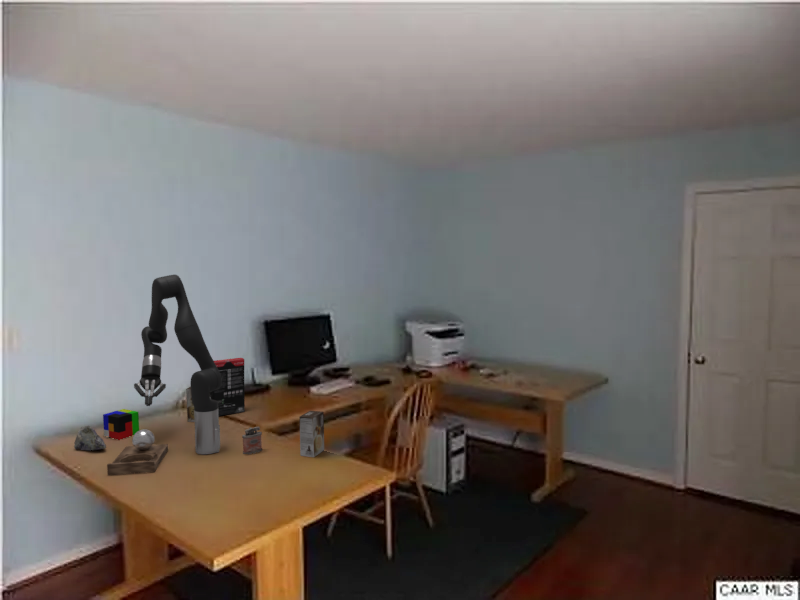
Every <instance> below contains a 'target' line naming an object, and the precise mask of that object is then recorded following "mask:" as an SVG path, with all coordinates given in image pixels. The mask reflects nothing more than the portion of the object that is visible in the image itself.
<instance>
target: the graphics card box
mask: <svg viewBox="0 0 800 600" xmlns="http://www.w3.org/2000/svg"><path fill="white" fill-rule="evenodd" d="M213 361H214V363H215V364H216V366H217V368H218V370H219V372H220V375H221V378H222V384H221V387H220V388H219V389H217V390H214V391H211V392H210V399H212V400H216V401H217V402H218V416H219V417H220V416H229V415H234V414H239V413H244V412H245V408H246V405H245V396H246V395H245V358H243V357H236V358H235V357H234V358H225V359H219V360H213Z"/></svg>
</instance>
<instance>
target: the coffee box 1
mask: <svg viewBox="0 0 800 600" xmlns="http://www.w3.org/2000/svg"><path fill="white" fill-rule="evenodd" d="M185 394H186V414H187V417H186V418H187V422H188V423H195V418H194V405H193V403H192V396H191V386H188V387H187V388H185ZM209 395H210V392H209Z"/></svg>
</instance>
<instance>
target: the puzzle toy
mask: <svg viewBox="0 0 800 600" xmlns="http://www.w3.org/2000/svg"><path fill="white" fill-rule="evenodd" d="M102 421H103V437H104V436H108V437H111V438H110V439H112V438H114V439H113V440H116V439H118V440H117V441H120V439H122V440H124V439H123V438H125V439H127V438H126V437H128V438H130V437H129V436H131V437H133V436H132V435H134V434H135V433H136V432H137V431H139V430H140V419H139V411H136V410H133V409H132V410H131V409H125V408H122V409H118V410H114V411H111V412H107V413H104V414H102Z"/></svg>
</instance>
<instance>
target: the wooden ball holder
mask: <svg viewBox="0 0 800 600" xmlns="http://www.w3.org/2000/svg"><path fill="white" fill-rule="evenodd" d="M168 451H169V444H168V443H164V444H163V443H162V444H153V445H152V446H151V447H150V448H148V449H146V450H139V449H137V448H135V447H134V445H132V446H131V445H130V446H125V447H124V448H123V449H122V450H121V452H119V454H118V455H117V457H116V458H115V459H114V460H113V461H112V463H107V465H106V469H107V470H106V471H107V476H117V475H119V476H120V475H121V476H122V475H132V474H133V475H134V473H135V474H147V473H146V472H150V473H155V472H156V471H155V470H157V468H159V465H160V464H161V463H162V460H164V458H165V456H166V454H167V452H168Z"/></svg>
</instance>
